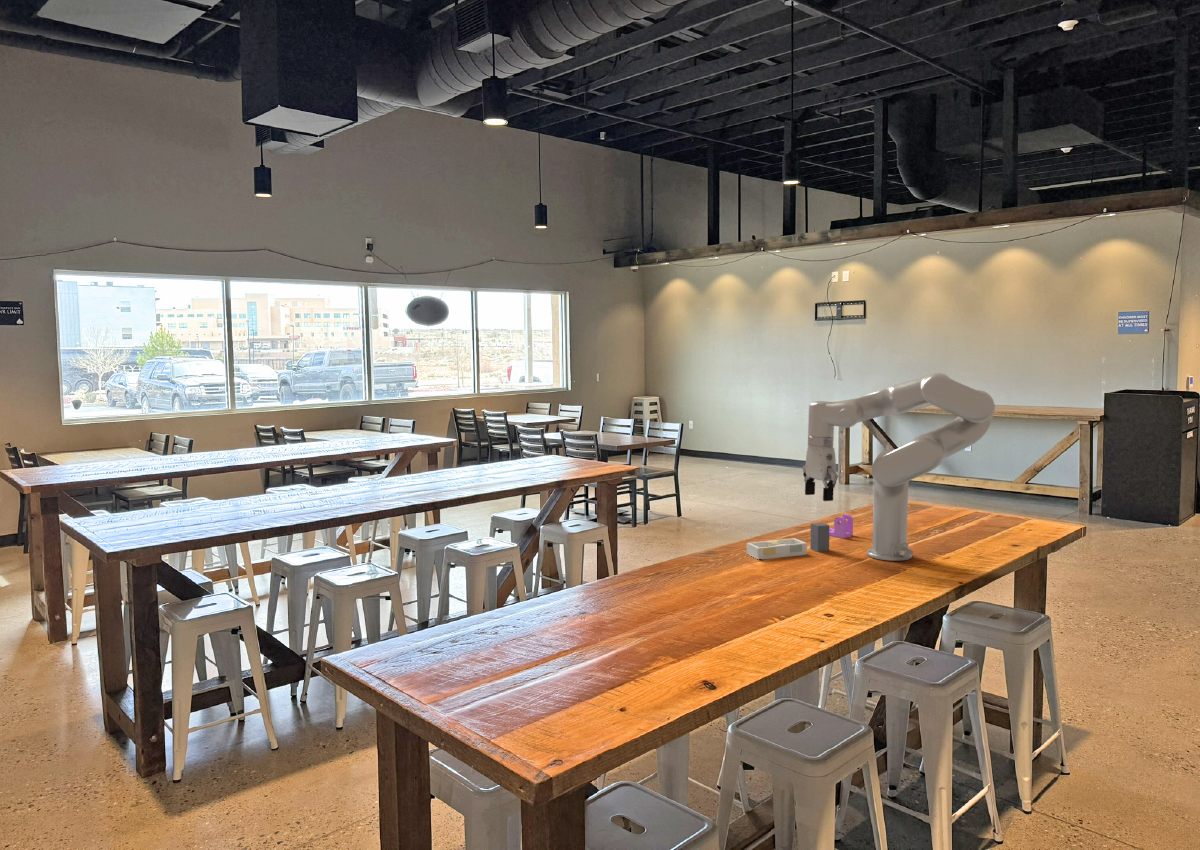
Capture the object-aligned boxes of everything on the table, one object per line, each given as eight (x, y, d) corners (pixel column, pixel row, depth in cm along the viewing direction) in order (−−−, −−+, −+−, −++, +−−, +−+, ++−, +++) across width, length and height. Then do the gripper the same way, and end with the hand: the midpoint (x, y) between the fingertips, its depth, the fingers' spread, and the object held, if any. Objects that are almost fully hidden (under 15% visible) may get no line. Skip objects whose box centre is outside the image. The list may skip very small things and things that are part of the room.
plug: (829, 550, 248) (829, 525, 248) (817, 552, 247) (818, 526, 246) (821, 547, 252) (821, 522, 251) (810, 549, 251) (810, 523, 250)
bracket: (852, 535, 267) (853, 515, 267) (844, 539, 263) (844, 517, 263) (817, 529, 276) (817, 509, 276) (808, 532, 273) (809, 512, 272)
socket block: (807, 554, 244) (807, 542, 244) (758, 560, 239) (758, 547, 239) (794, 549, 251) (794, 537, 250) (746, 554, 246) (746, 542, 245)
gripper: (848, 445, 239) (846, 502, 241) (815, 438, 256) (813, 491, 258) (826, 446, 237) (824, 504, 239) (794, 439, 253) (792, 493, 255)
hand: (818, 497), depth 248 cm, fingers open, 9 cm apart
